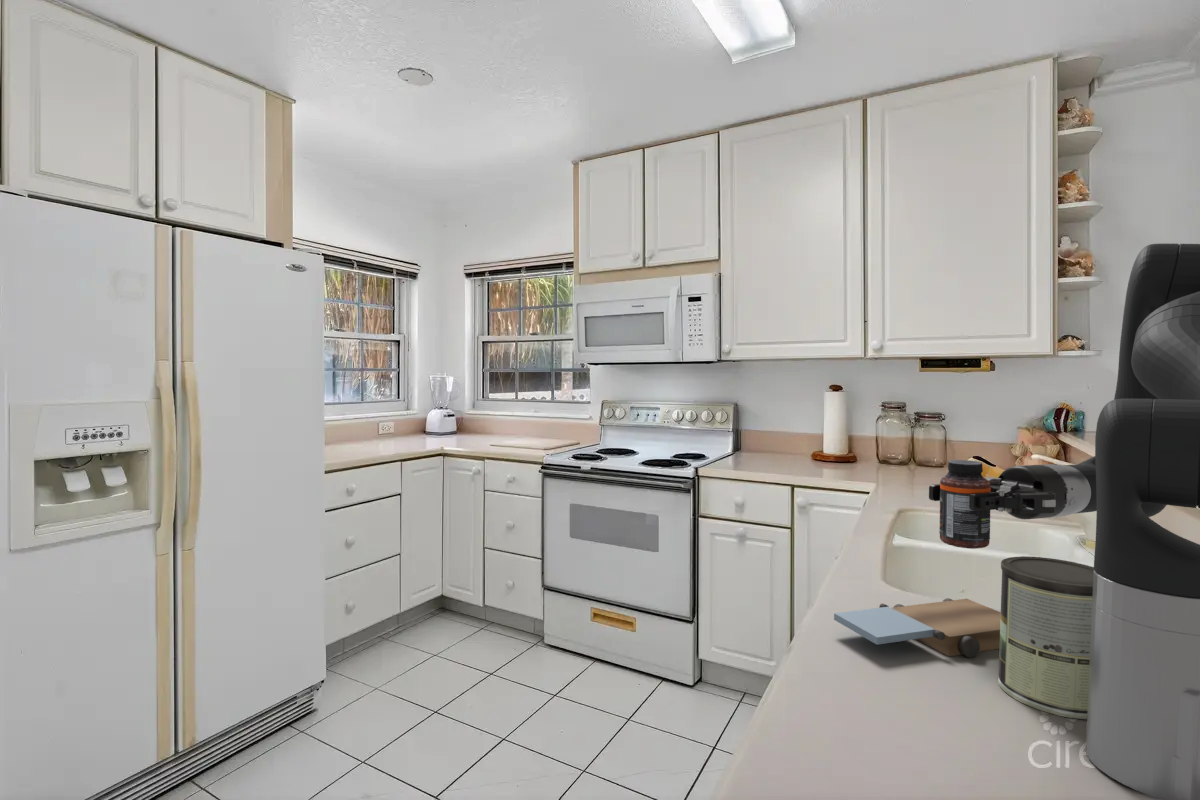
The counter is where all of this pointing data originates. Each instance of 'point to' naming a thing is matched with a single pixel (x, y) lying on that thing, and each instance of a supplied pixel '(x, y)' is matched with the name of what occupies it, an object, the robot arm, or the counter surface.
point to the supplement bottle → (963, 506)
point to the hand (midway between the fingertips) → (951, 497)
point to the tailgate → (883, 625)
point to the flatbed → (957, 625)
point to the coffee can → (1046, 634)
